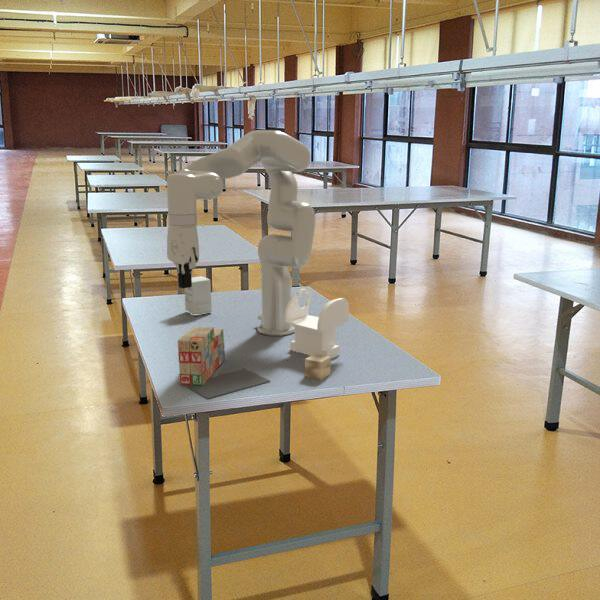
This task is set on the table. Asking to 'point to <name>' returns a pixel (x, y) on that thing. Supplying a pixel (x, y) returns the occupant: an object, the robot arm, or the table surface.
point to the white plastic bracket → (316, 325)
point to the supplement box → (198, 296)
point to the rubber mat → (228, 383)
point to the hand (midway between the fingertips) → (185, 287)
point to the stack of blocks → (200, 354)
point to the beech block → (317, 366)
